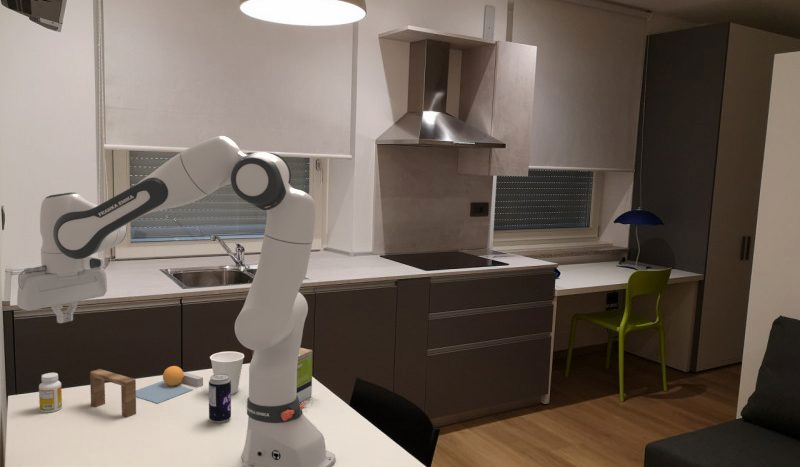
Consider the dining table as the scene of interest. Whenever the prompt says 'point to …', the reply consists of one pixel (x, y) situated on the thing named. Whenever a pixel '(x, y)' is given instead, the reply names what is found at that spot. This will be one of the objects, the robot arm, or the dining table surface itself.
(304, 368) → the tea box
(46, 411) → the supplement bottle
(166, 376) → the ball
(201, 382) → the grey rectangular bar
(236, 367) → the cup
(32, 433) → the dining table surface
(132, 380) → the bridge
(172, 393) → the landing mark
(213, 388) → the beverage can
